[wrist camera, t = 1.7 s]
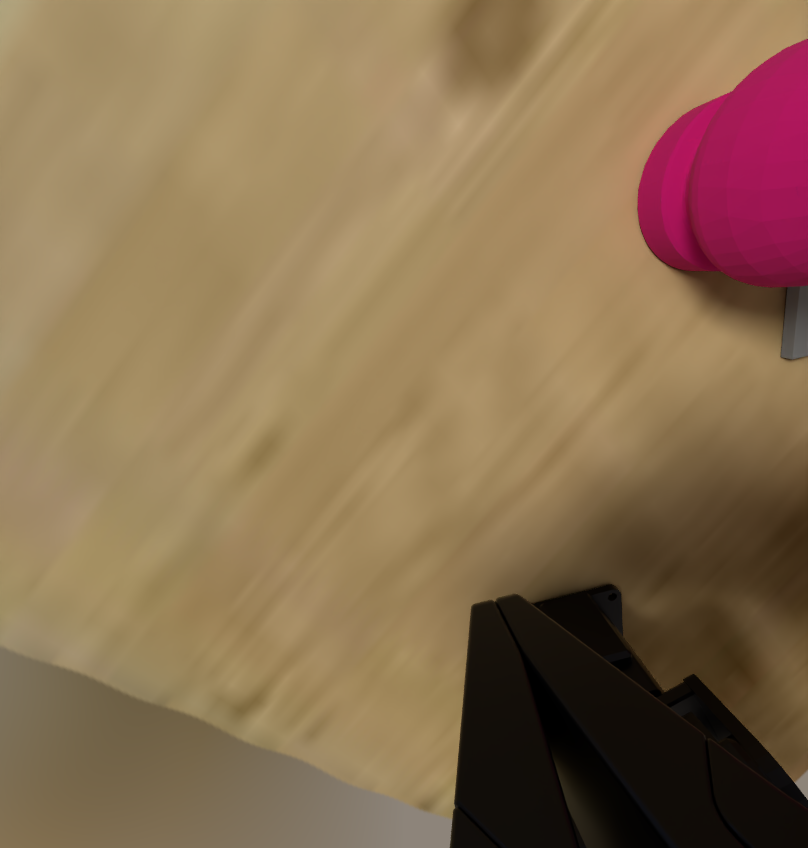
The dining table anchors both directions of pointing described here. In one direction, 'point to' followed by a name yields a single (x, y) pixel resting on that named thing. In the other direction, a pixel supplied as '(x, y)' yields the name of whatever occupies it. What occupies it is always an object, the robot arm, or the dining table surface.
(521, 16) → the dining table surface
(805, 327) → the mat
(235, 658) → the dining table surface
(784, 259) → the pepper mill
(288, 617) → the dining table surface
